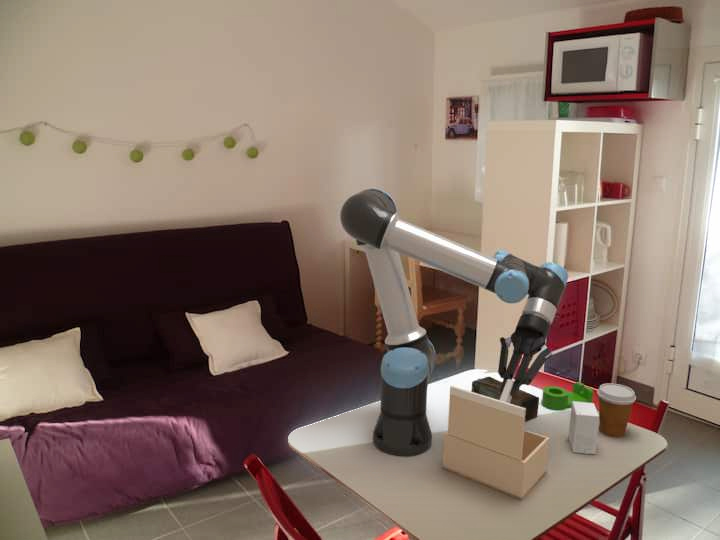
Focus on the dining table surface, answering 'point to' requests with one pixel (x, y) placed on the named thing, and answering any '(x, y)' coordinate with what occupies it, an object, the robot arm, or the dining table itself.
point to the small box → (583, 427)
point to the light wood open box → (498, 464)
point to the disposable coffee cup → (614, 408)
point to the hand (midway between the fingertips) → (502, 407)
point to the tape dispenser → (565, 396)
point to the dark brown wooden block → (523, 399)
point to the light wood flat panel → (486, 422)
